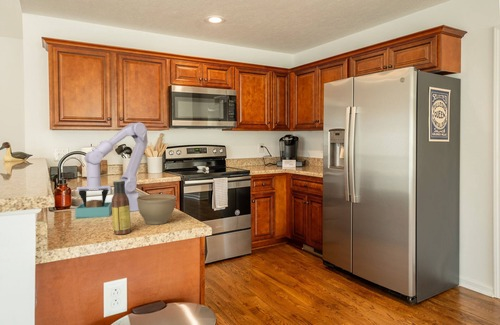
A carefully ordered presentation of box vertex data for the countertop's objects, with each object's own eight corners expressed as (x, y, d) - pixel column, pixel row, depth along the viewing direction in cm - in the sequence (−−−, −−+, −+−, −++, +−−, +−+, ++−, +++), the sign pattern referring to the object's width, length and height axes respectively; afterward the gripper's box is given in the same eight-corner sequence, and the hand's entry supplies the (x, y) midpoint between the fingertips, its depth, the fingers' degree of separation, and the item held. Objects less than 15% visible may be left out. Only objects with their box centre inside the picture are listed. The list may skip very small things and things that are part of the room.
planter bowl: (136, 228, 136) (135, 201, 135) (138, 219, 152) (137, 194, 151) (177, 225, 140) (177, 199, 140) (175, 217, 156) (174, 193, 155)
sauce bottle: (133, 230, 132) (131, 179, 131) (127, 235, 126) (126, 181, 125) (115, 230, 132) (114, 179, 131) (109, 235, 126) (108, 181, 124)
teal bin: (112, 211, 168) (111, 202, 168) (109, 216, 157) (108, 206, 156) (81, 213, 164) (80, 203, 164) (75, 218, 153) (75, 208, 153)
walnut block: (102, 212, 163) (102, 199, 162) (96, 214, 158) (96, 201, 157) (92, 212, 163) (92, 199, 163) (86, 214, 158) (86, 201, 158)
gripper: (111, 175, 165) (112, 203, 166) (78, 176, 161) (79, 205, 162) (109, 177, 158) (110, 206, 159) (75, 178, 154) (76, 208, 155)
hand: (94, 206), depth 160 cm, fingers open, 7 cm apart
